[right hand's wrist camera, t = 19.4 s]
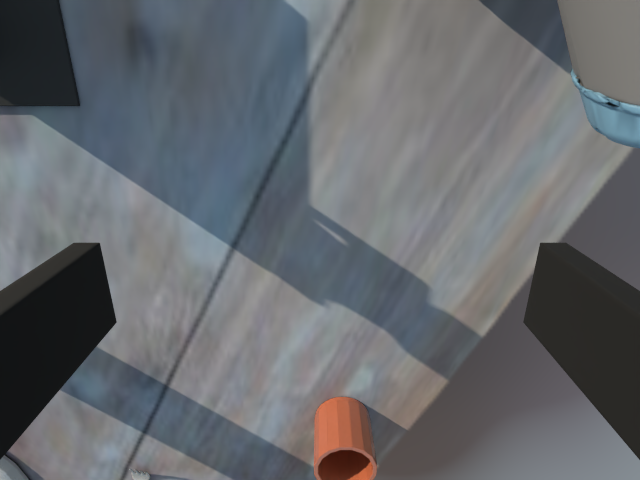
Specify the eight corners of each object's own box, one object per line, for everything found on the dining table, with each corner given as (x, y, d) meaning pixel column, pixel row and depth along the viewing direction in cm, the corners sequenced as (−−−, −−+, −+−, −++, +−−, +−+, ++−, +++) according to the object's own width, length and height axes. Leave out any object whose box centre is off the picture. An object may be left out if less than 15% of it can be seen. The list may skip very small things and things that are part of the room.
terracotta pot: (370, 396, 54) (378, 447, 47) (367, 438, 57) (375, 492, 49) (314, 396, 54) (313, 447, 47) (314, 438, 57) (314, 492, 49)
